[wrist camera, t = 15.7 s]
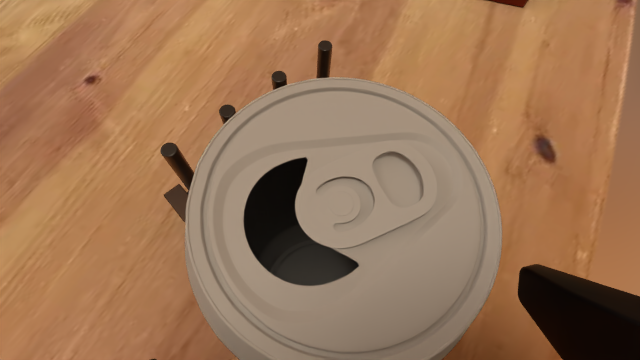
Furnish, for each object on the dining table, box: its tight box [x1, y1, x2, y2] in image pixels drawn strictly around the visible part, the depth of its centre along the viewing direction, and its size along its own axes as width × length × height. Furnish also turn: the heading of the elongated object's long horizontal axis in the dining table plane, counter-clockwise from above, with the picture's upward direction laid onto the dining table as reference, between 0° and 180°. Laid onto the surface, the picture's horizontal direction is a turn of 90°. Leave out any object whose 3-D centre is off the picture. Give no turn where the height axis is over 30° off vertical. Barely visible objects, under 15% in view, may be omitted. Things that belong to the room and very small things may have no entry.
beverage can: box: [185, 77, 502, 360], centre depth 12 cm, size 6×6×12 cm
